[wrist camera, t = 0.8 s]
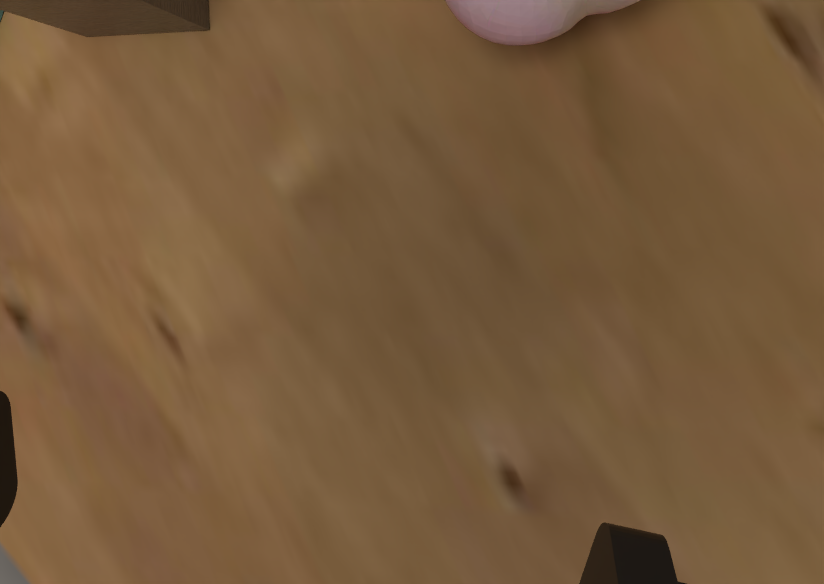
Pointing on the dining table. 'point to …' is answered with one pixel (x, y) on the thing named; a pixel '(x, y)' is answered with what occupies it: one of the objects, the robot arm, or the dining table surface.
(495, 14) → the decorative fruit
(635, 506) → the dining table surface
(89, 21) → the block
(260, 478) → the dining table surface
